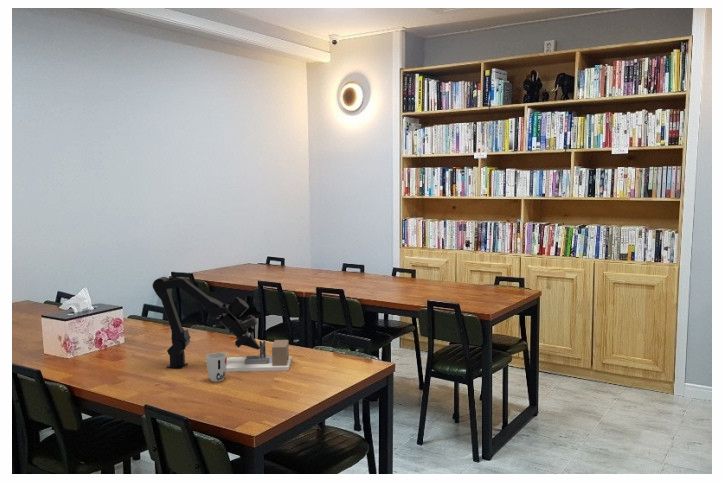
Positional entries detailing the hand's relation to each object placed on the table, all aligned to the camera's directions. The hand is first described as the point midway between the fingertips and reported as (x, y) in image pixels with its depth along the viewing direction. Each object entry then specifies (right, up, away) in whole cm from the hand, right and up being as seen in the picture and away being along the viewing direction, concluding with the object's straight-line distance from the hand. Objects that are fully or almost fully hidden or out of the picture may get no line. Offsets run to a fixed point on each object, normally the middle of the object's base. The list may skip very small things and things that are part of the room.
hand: (259, 348), depth 262 cm
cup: (-14, -9, -18) cm, 25 cm away
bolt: (+5, -6, +1) cm, 7 cm away
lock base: (-2, -7, +1) cm, 8 cm away
